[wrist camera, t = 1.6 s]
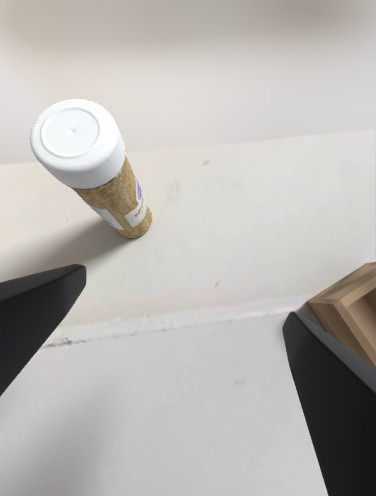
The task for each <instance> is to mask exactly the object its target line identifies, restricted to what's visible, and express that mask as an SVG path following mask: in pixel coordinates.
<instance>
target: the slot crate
mask: <svg viewBox="0 0 376 496" xmlns="http://www.w3.org/2000/svg"><path fill="white" fill-rule="evenodd" d="M307 303H308V305H309V306H310V308H311V309H312V311H313V312H314V314H315V315H316V317H317V318H318V320H319V321H320V323H321V324H322V326H323V328H324V329H325V331H326V332H327V333H328V334H329V335H331V336H332V337H333V338H335V339H336V340H337V341H339V342H340V343H341V344H343V345H344V346H345V347H347V348H348V349H349V350H351V351H352V352H353V353H355V354H356V355H357V356H358V357H360V358H361V359H362V360H364V361H365V362H366V363H368V364H369V365H370V366H372V367H373V368H374V369H376V262H373V263H366V264H365V265H363V266H362V267H360V268H358V269H357V270H355V271H354V272H352V273H351V274H349V275H348V276H346V277H344V278H343V279H341V280H340V281H338V282H337V283H335V284H334V285H332V286H330V287H329V288H327V289H326V290H324V291H323V292H321V293H320V294H318V295H316V296H315V297H313V298H312V299H310V300H309V301H307Z"/></svg>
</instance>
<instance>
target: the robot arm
mask: <svg viewBox="0 0 376 496" xmlns="http://www.w3.org/2000/svg"><path fill="white" fill-rule="evenodd" d="M85 285H86V267H85V266H83V265H79V264H73V265H69V266H65V267H61V268H57V269H53V270H49V271H45V272H41V273H37V274H33V275H29V276H25V277H21V278H17V279H13V280H9V281H5V282H1V283H0V396H1V395H2V394H3V392H4V391H5V390H6V389H7V387H8V386H9V385H10V384H11V383H12V381H13V380H14V379H15V378H16V376H17V375H18V374H19V373H20V372H21V370H22V369H23V368H24V367H25V365H26V364H27V363H28V362H29V361H30V359H31V358H32V357H33V356H34V354H35V353H36V352H37V351H38V350H39V348H40V347H41V346H42V345H43V343H44V342H45V341H46V340H47V339H48V337H49V336H50V335H51V334H52V332H53V331H54V330H55V329H56V327H57V326H58V325H59V324H60V323H61V321H62V320H63V319H64V318H65V316H66V315H67V313H68V312H69V310H70V309H71V307H72V306H73V304H74V303H75V301H76V300H77V298H78V297H79V295H80V294H81V292H82V291H83V289H84V288H85ZM283 336H284V341H285V346H286V351H287V356H288V361H289V366H290V369H291V373H292V376H293V380H294V383H295V386H296V390H297V393H298V396H299V400H300V403H301V406H302V409H303V413H304V416H305V419H306V423H307V426H308V429H309V433H310V436H311V439H312V443H313V446H314V449H315V453H316V456H317V459H318V462H319V466H320V469H321V472H322V476H323V479H324V482H325V486H326V489H327V492H328V496H376V369H374V368H373V367H372V366H370V365H369V364H368V363H366V362H365V361H364V360H362V359H361V358H360V357H358V356H357V355H356V354H355V353H353V352H352V351H351V350H349V349H348V348H347V347H345V346H344V345H343V344H341V343H340V342H339V341H337V340H336V339H335V338H333V337H332V336H331V335H329V334H328V333H327V332H325V331H324V330H323V329H321V328H320V327H319V326H317V325H316V324H315V323H314V322H312V321H311V320H310V319H308V318H307V317H306V316H304V315H303V314H301V313H297V312H290V313H289V315H288V317H287V319H286V321H285V323H284V325H283Z"/></svg>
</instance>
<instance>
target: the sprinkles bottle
mask: <svg viewBox="0 0 376 496" xmlns="http://www.w3.org/2000/svg"><path fill="white" fill-rule="evenodd" d="M30 144H31V148H32V151H33V153H34V155H35V157H36V158H37V160H38V161H39V162H40V163H41V164H42V165H43V166H44V167H45V168H46V169H47V170H48V171H49V172H50V173H51V174H52V175H53V176H54V177H56V178H57V179H58V180H59V181H60V182H62V183H63V184H65V185H67V186H69V187H71V188H72V189H73V190H74V191H75V192H76V193H77V194H78V195H79V196H80V197H81V198H82V199H83V200H84V201H85V202H86V203H87V204H88V205H89V206H90V207H91V208H92V209H93V210H94V211H95V212H96V213H98V214H99V215H100V216H101V217H102V218H103V219H104V220H105V221H106V222H107V223H108V224H110V225H111V226H112V227H114V228H115V230H116V231H117V232H118V233H119V234H120V235H122V236H124V237H128V238H137V237H140V236H142V235H143V234H144V233H146V232H147V231H148V229H149V228H150V226H151V222H152V214H151V211H150V209H149V208H148V207H147V204H146V201H145V198H144V196H143V193H142V191H141V189H140V186H139V184H138V182H137V179H136V177H135V175H134V174H133V171H132V169H131V167H130V164H129V162H128V160H127V157H126V155H125V146H124V142H123V139H122V137H121V134H120V132H119V129H118V127H117V125H116V123H115V121H114V119H113V117H112V116H111V115H110V114H109V112H108V111H107V110H106V109H104V108H103V107H102V106H100V105H98V104H96V103H94V102H91V101H87V100H82V99H71V100H65V101H61V102H58V103H56V104H54V105H52V106H50V107H48V108H47V109H46V110H45V111H43V112H42V113H41V114H40V115H39V116H38V118H37V119H36V121H35V122H34V124H33V127H32V130H31V135H30Z"/></svg>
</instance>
